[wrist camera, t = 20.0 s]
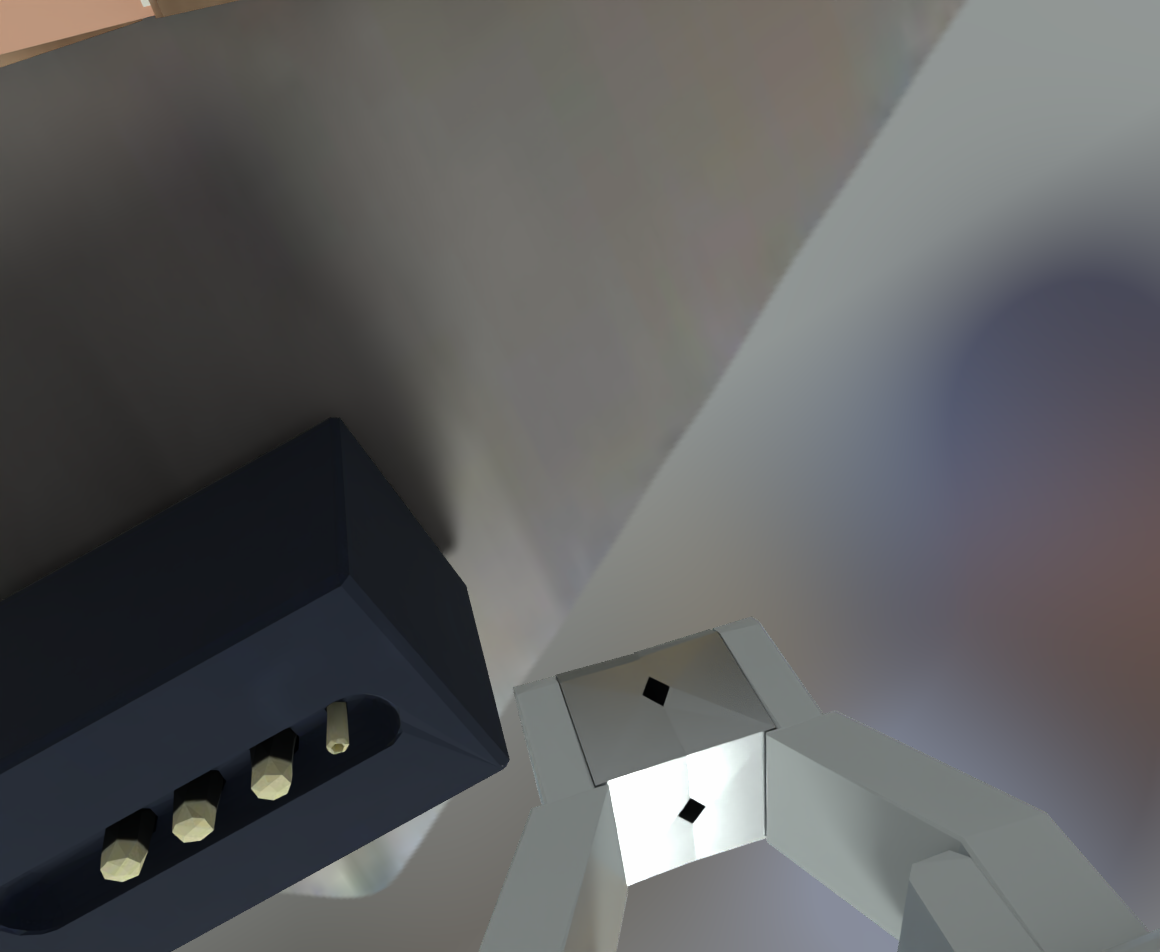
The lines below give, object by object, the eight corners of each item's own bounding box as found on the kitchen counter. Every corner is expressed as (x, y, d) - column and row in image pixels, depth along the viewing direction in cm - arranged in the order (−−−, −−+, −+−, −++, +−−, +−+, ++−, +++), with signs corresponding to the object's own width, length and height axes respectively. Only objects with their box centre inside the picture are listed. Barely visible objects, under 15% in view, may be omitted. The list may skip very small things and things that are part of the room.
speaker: (135, 753, 47) (72, 1028, 35) (-52, 613, 40) (-215, 898, 28) (464, 571, 47) (518, 783, 35) (335, 397, 40) (345, 587, 28)
